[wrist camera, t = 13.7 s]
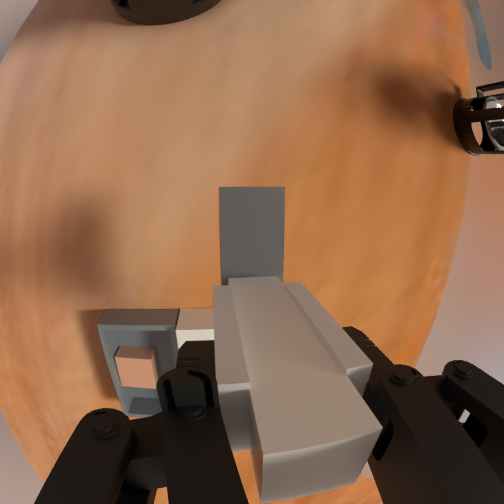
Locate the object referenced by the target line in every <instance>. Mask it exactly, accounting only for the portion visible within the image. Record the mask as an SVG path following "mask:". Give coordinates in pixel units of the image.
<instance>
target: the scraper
mask: <svg viewBox="0 0 504 504" xmlns="http://www.w3.org/2000/svg"><path fill="white" fill-rule="evenodd" d="M284 211H285V187H219V232H220V268H221V286H225V285H231V291H232V296H233V301H234V306H235V311H236V317H237V322H238V327H239V332H240V337H241V342H242V347H243V351H244V356H245V361H246V366H247V371H248V375H249V380H250V389H249V413H250V451H251V457H252V462H253V467H254V472H255V478H256V483H257V488H258V493H259V497H260V502H261V503H268V502H275V501H281V500H287V499H293V498H298V497H303V496H308V495H312V494H317V493H321V492H325V491H329V490H333V489H336V488H340V487H343V486H346V485H350V484H353V483H355V482H356V480H357V478H358V476H359V475H360V473H361V471H362V469H363V467H364V465H365V463H366V462H367V460H368V458H369V456H370V454H371V452H372V450H373V448H374V446H375V444H376V441H377V439H378V437H379V435H380V433H381V430H382V428H383V427H382V426H381V424H380V423H379V421H378V420H377V418H376V417H375V415H374V414H373V413H372V411H371V410H370V408H369V407H368V405H367V404H366V402H365V401H364V400H363V398H362V397H361V395H360V394H359V392H358V391H357V389H356V388H355V387H354V385H353V384H352V382H351V381H350V379H349V378H348V376H347V375H345V373H344V372H343V370H342V369H341V367H340V366H339V365H338V363H337V362H336V360H335V359H334V357H333V356H332V354H331V353H330V352H329V350H328V349H327V347H326V346H325V344H324V343H323V341H322V340H321V339H320V337H319V336H318V334H317V333H316V331H315V330H314V328H313V327H312V326H311V324H310V323H309V321H308V320H307V318H306V317H305V316H304V314H303V313H302V311H301V310H300V308H299V307H298V306H297V304H296V303H295V301H294V300H293V298H292V297H291V295H290V294H289V293H288V291H287V290H286V288H285V287H284V285H283V261H284Z"/></svg>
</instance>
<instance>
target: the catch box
mask: <svg viewBox="0 0 504 504" xmlns="http://www.w3.org/2000/svg"><path fill="white" fill-rule="evenodd" d="M178 318H179V309H108V310H107V311H106V312H105V314H104V315H103V316H102V318H101V319H100V320H99V322H98V323H97V328H98V332H99V336H100V340H101V344H102V348H103V351H104V355H105V358H106V362H107V365H108V368H109V372H110V375H111V378H112V381H113V384H114V387H115V390H116V393H117V395H118V398H119V401H120V404H121V406H122V409H123V412H124V414H125V415H126V416H131V417H144V418H145V417H149V416H153V415H155V414H157V413H159V412H161V411H162V408H161V404H160V400H159V396H158V393H157V389H151V388H138V387H127V386H122V384H121V380H120V377H119V373H118V369H117V365H116V361H115V355H116V353H117V351H118V349H119V347H120V346H128V347H144V348H155V354H156V361H157V367H158V373H159V378H160V377H161V376H162V375H163V374H164V373H166V372H168V371H170V370H172V369H175V368H176V362H177V355H178V343H177V336H176V327H177V322H178Z"/></svg>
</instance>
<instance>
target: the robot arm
mask: <svg viewBox="0 0 504 504" xmlns="http://www.w3.org/2000/svg"><path fill="white" fill-rule="evenodd" d="M219 1H221V0H111V2H112V4H113V6H114V7H115V9H116V11H117V12H118V13H119V14H120V15H121V16H122V17H123V18H125V19H127V20H129V21H132V22H135V23H140V24H167V23H173V22H178V21H182V20H185V19H188V18H191V17H194V16H196V15H199V14H201V13H203V12H205V11H207V10H208V9H210V8H212V7H213V6H214V5H216V4H217V3H218V2H219ZM284 287H285V288H286V290H287V291H288V293H289V294H290V295H291V297H292V298H293V300H294V301H295V303H296V304H297V306H298V307H299V308H300V310H301V311H302V313H303V314H304V316H305V317H306V318H307V320H308V321H309V323H310V324H311V326H312V327H313V328H314V330H315V331H316V333H317V334H318V336H319V337H320V339H321V340H322V341H323V343H324V344H325V346H326V347H327V349H328V350H329V352H330V353H331V354H332V356H333V357H334V359H335V360H336V362H337V363H338V365H339V366H340V367H341V369H342V370H343V372H344V373H345V375H347V376H348V378H349V379H350V381H351V382H352V384H353V385H354V387H355V388H356V389H357V391H358V392H359V394H360V395H361V397H362V398H363V400H364V401H365V402H366V404H367V405H368V407H369V408H370V410H371V411H372V413H373V414H374V415H375V417H376V418H377V420H378V421H379V423H380V424H381V426H382V427H383V428H382V430H381V433H380V435H379V437H378V439H377V441H376V444H375V446H374V448H373V450H372V452H371V454H370V456H369V458H368V460H367V461H368V464H369V466H370V469H371V472H372V474H373V477H374V480H375V482H376V485H377V488H378V490H379V493H380V496H381V498H382V501H383V504H504V385H503V384H502V383H500V382H499V381H497V380H496V379H494V378H493V377H491V376H489V375H488V374H487V373H485V372H483V371H482V370H481V369H479V368H478V367H476V366H475V365H473V364H471V363H469V362H466V361H463V360H454V361H450V362H448V363H447V364H446V365H445V367H444V370H443V372H442V375H438V376H426V377H423V375H422V374H421V373H420V372H419V371H417V370H416V369H415V368H412V367H410V366H407V365H402V364H397V365H394V364H393V363H392V362H391V361H390V360H389V359H388V358H387V357H386V356H385V355H384V354H383V353H382V352H381V351H380V350H379V348H378V347H377V346H375V344H374V343H373V342H372V341H371V340H370V341H369V338H368V337H367V336H366V335H365V334H364V333H363V332H362V331H360V330H358V329H356V328H354V327H352V326H349V327H341V326H340V325H339V324H338V323H337V322H336V321H335V319H334V318H333V317H332V316H331V315H330V314H329V313H328V312H327V310H326V309H325V308H324V307H323V306H322V305H321V304H320V303H319V301H318V300H317V299H316V298H315V297H314V296H313V295H312V294H311V293H310V291H309V290H308V289H307V288H306V287H305V286H304V285H303V284H302V283H301V282H287V283H284ZM213 312H214V340H199V341H185V342H184V344H183V345H182V346H181V347H180V348H179V350H178V355H177V362H176V368H175V369H172V370H170V371H168V372H166V373H164V374H163V375H162V376H161V377H160V378H159V379H158V381H157V384H156V389H157V393H158V396H159V400H160V404H161V408H162V411H161V412H159V413H157V414H155V415H153V416H149V417H145V418H139V419H133V420H129V417H128V416H126V415H125V414H124V413H123V412H121V411H119V410H116V409H111V408H102V409H97V410H93V411H92V412H90V413H88V414H86V415H85V416H84V417H83V418H82V419H81V420H80V422H79V424H78V425H77V427H76V429H75V430H74V432H73V434H72V435H71V437H70V439H69V441H68V442H67V444H66V446H65V447H64V449H63V451H62V453H61V454H60V456H59V458H58V460H57V461H56V463H55V465H54V467H53V469H52V470H51V472H50V474H49V476H48V478H47V480H46V482H45V483H44V485H43V487H42V489H41V491H40V493H39V495H38V497H37V499H36V501H35V503H34V504H154V500H155V495H156V491H157V488H163V487H167V491H168V501H169V504H249V503H248V500H247V497H246V494H245V491H244V488H243V485H242V482H241V479H240V476H239V473H238V470H237V466H236V463H235V460H234V456H233V453H232V451H244V450H250V413H249V389H250V380H249V375H248V371H247V366H246V361H245V356H244V351H243V347H242V342H241V337H240V332H239V327H238V322H237V317H236V311H235V306H234V301H233V296H232V291H231V285H225V286H213ZM465 409H466V410H467V411H468V412H470V415H469V417H468V418H467V420H466V422H465V423H461V422H459V419H460V417H461V416H462V414H463V412H464V410H465Z"/></svg>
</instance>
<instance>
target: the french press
mask: <svg viewBox="0 0 504 504" xmlns="http://www.w3.org/2000/svg"><path fill="white" fill-rule="evenodd" d="M501 88H504V81H502V82H497V83H492V84H487V85H483V86H478V87H476V92H477V97H475V98H470V99H460V100H458V101H457V102H456V104H455V106H454V111H453V120H454V126H455V131H456V134H457V136H458V139H459V141H460V143H461V144H462V146H463V147H464V149H465V150H466V151H467V152H468V153H470V154H471V155H480V154H504V106H502V104H501V103H500V102H499V101H498V100H502V99H504V93H502V94H496V95H491V96H485V97H484V96H483V92H485V91H490V90H495V89H501ZM470 108H472V109H473V110H474V111H470ZM473 122H481V126H482V132H483V137H482V142H481V144H480V146H479V144H478V142H477V141H476V139H475V136H474V134H473V131H472V127H471V123H473Z"/></svg>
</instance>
